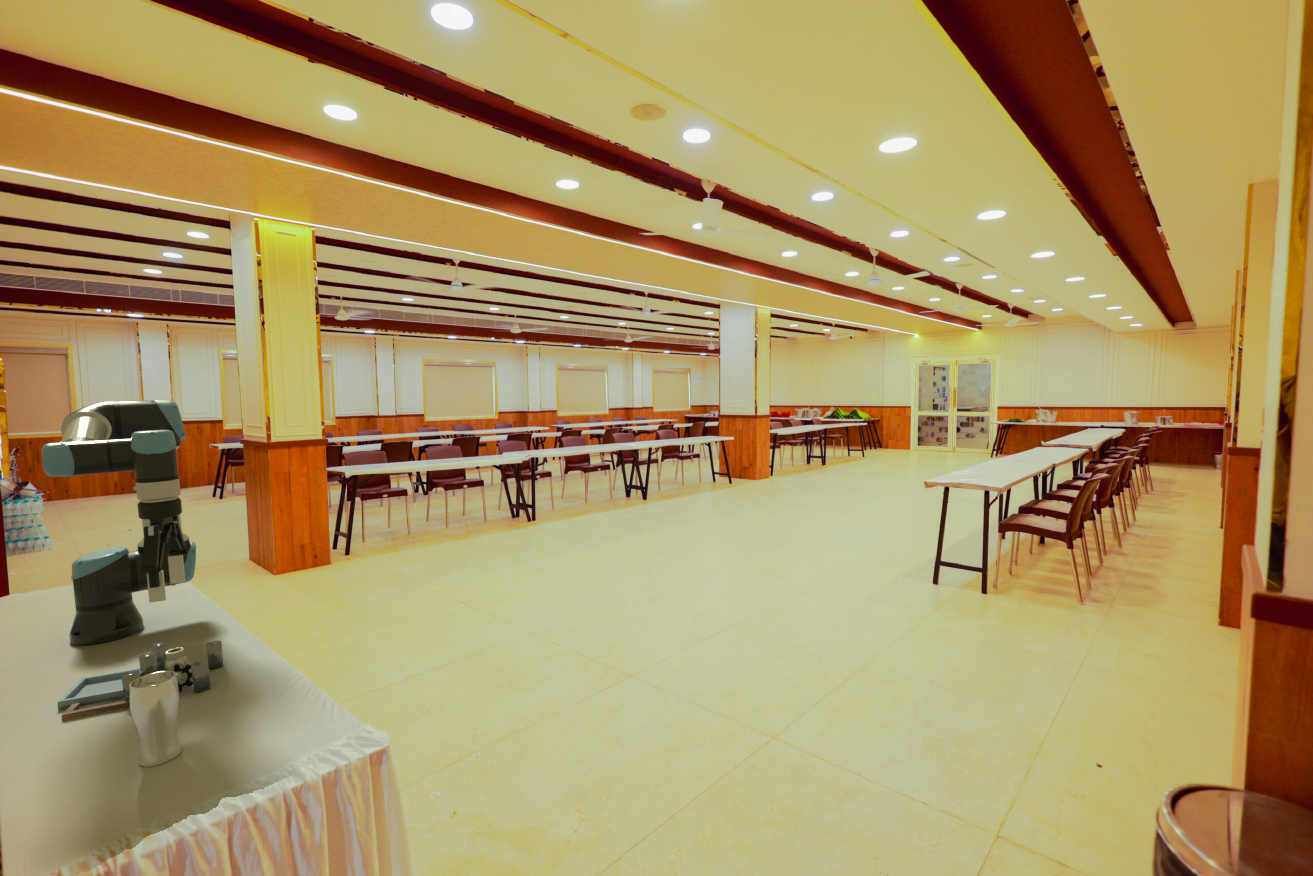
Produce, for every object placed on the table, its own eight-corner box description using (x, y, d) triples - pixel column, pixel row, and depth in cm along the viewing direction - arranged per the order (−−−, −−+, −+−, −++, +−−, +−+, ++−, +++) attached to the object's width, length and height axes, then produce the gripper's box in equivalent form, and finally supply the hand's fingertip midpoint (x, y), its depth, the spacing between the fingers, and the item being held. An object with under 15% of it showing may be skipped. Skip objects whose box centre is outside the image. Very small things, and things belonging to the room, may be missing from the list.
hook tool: (72, 709, 127) (72, 704, 127) (155, 694, 133) (154, 689, 132) (62, 720, 123) (61, 715, 123) (147, 704, 128) (147, 699, 128)
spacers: (153, 667, 146) (150, 643, 145) (229, 654, 152) (227, 631, 151) (120, 707, 127) (117, 680, 127) (208, 690, 134) (205, 665, 133)
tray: (83, 685, 137) (82, 677, 137) (146, 674, 142) (146, 667, 142) (58, 710, 127) (57, 702, 127) (127, 697, 132) (126, 689, 131)
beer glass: (155, 746, 113) (147, 671, 112) (193, 744, 114) (186, 668, 112) (125, 770, 106) (117, 690, 105) (167, 767, 107) (159, 687, 105)
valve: (159, 678, 140) (160, 698, 131) (156, 651, 140) (157, 669, 130) (194, 669, 144) (198, 688, 135) (191, 643, 144) (195, 660, 135)
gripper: (157, 492, 143) (166, 578, 145) (114, 511, 120) (125, 612, 122) (196, 489, 146) (203, 573, 148) (161, 507, 124) (170, 606, 125)
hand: (168, 591), depth 135 cm, fingers open, 13 cm apart
